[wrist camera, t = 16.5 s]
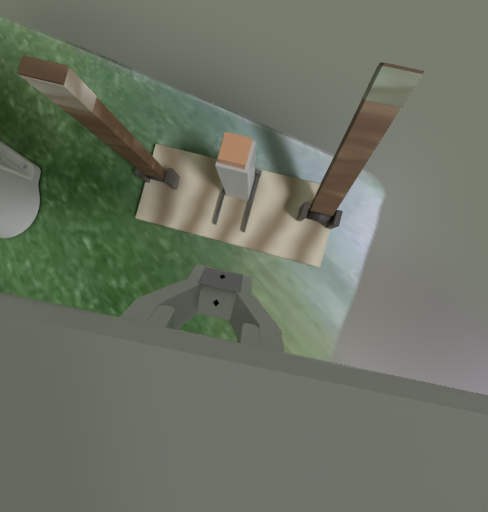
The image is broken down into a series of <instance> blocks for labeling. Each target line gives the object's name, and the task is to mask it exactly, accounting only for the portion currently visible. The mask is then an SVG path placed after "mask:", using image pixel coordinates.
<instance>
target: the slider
mask: <svg viewBox="0 0 488 512" xmlns="http://www.w3.org/2000/svg"><path fill="white" fill-rule="evenodd" d="M255 155H256V141H252V138H250V137H246V136H241V135H237V134H233V133H229V132H225V134H224V135H223V139H222V143H221V146H220V150H219V154H218V157H217V161H216V165H215V166H216V169H217V172H218V174H219V177H220V180H221V182H222V185H223V187H224V190H225V193H226V195H227V196H230V197H234V198H237V199H241V200H245V201H249V198H250V194H251V190H252V186H253V183H254V177H255Z"/></svg>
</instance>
